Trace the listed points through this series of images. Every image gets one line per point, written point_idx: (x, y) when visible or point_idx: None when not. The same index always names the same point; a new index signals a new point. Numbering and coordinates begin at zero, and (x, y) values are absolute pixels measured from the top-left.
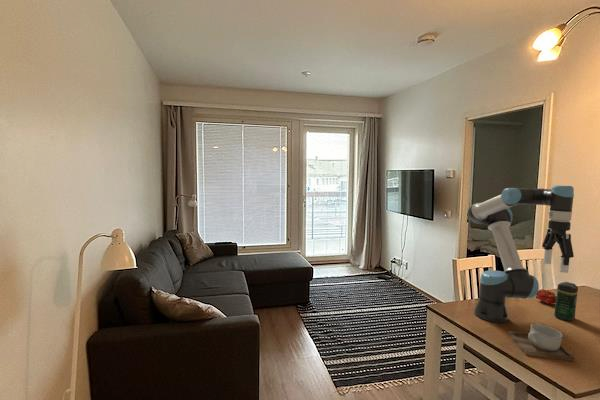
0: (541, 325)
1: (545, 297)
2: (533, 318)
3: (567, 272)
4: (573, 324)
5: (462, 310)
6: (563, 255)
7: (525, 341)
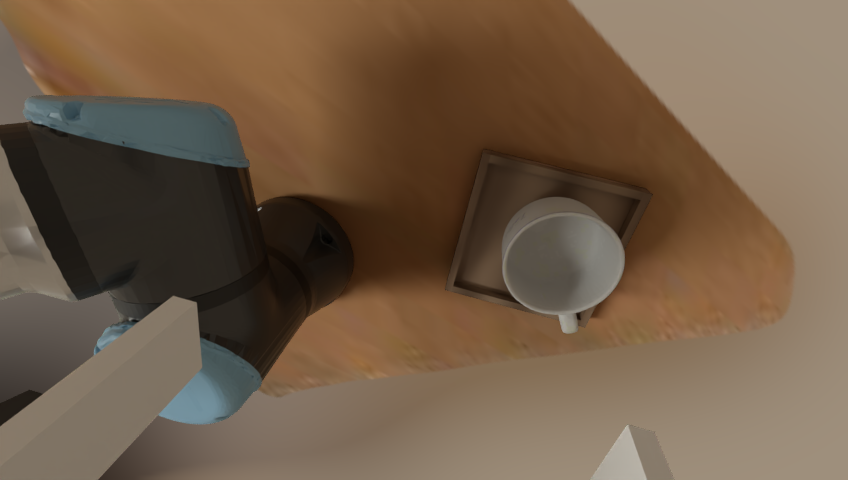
0: (510, 248)
1: None
2: (272, 69)
3: (652, 440)
4: None
5: None
6: None
7: None
